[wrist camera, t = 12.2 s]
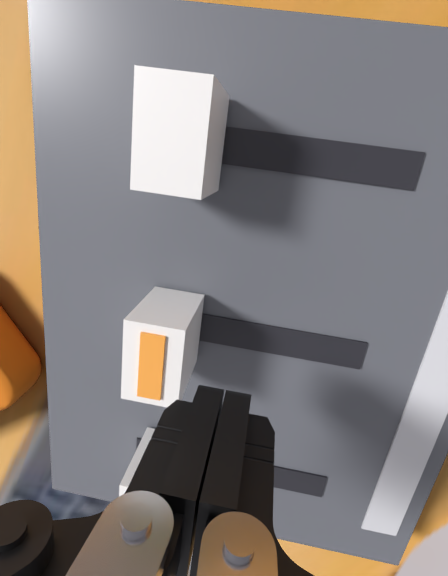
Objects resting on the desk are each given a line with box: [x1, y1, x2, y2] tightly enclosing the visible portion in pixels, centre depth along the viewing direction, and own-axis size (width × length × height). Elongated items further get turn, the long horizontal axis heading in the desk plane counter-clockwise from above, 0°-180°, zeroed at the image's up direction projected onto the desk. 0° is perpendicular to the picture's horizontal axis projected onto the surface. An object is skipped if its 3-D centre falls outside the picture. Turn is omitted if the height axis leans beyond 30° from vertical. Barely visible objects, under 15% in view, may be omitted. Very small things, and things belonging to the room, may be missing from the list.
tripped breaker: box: [121, 286, 204, 407], centre depth 13 cm, size 2×3×3 cm, turn 173°
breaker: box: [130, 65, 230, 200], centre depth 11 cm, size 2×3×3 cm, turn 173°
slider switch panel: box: [27, 0, 448, 565], centre depth 16 cm, size 18×22×3 cm
